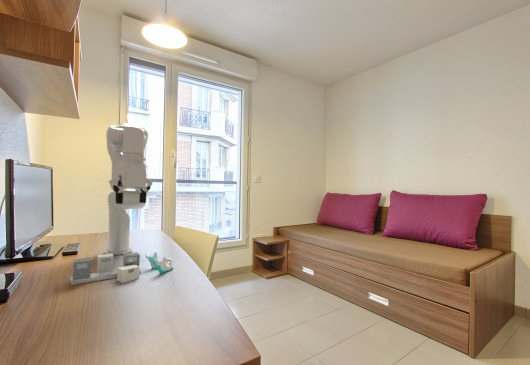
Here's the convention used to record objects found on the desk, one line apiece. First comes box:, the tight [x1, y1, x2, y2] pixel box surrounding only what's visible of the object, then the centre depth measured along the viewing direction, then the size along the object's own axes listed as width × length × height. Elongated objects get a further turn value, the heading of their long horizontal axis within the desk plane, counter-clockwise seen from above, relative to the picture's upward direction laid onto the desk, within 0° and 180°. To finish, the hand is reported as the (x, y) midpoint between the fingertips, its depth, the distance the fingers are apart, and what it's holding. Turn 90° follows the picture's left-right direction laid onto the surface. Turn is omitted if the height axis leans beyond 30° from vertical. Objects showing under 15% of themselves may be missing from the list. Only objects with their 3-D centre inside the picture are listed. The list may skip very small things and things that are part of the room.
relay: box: [116, 265, 140, 284], centre depth 97 cm, size 4×6×4 cm
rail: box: [70, 251, 142, 286], centre depth 98 cm, size 5×22×8 cm, turn 127°
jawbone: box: [145, 251, 174, 274], centre depth 109 cm, size 12×8×9 cm, turn 44°
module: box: [96, 253, 115, 273], centre depth 104 cm, size 5×5×6 cm
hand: (131, 203), depth 101 cm, fingers open, 9 cm apart
